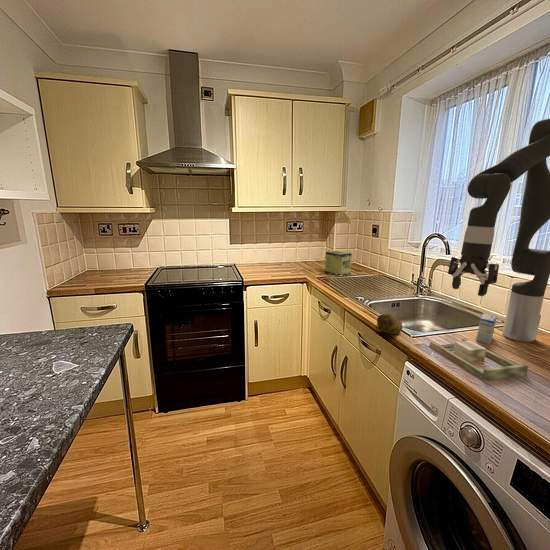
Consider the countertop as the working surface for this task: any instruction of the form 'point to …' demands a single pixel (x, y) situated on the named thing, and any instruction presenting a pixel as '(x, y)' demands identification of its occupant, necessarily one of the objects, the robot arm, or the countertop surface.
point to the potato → (389, 324)
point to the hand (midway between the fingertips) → (467, 292)
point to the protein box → (338, 262)
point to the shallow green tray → (487, 374)
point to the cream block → (469, 350)
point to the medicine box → (486, 328)
